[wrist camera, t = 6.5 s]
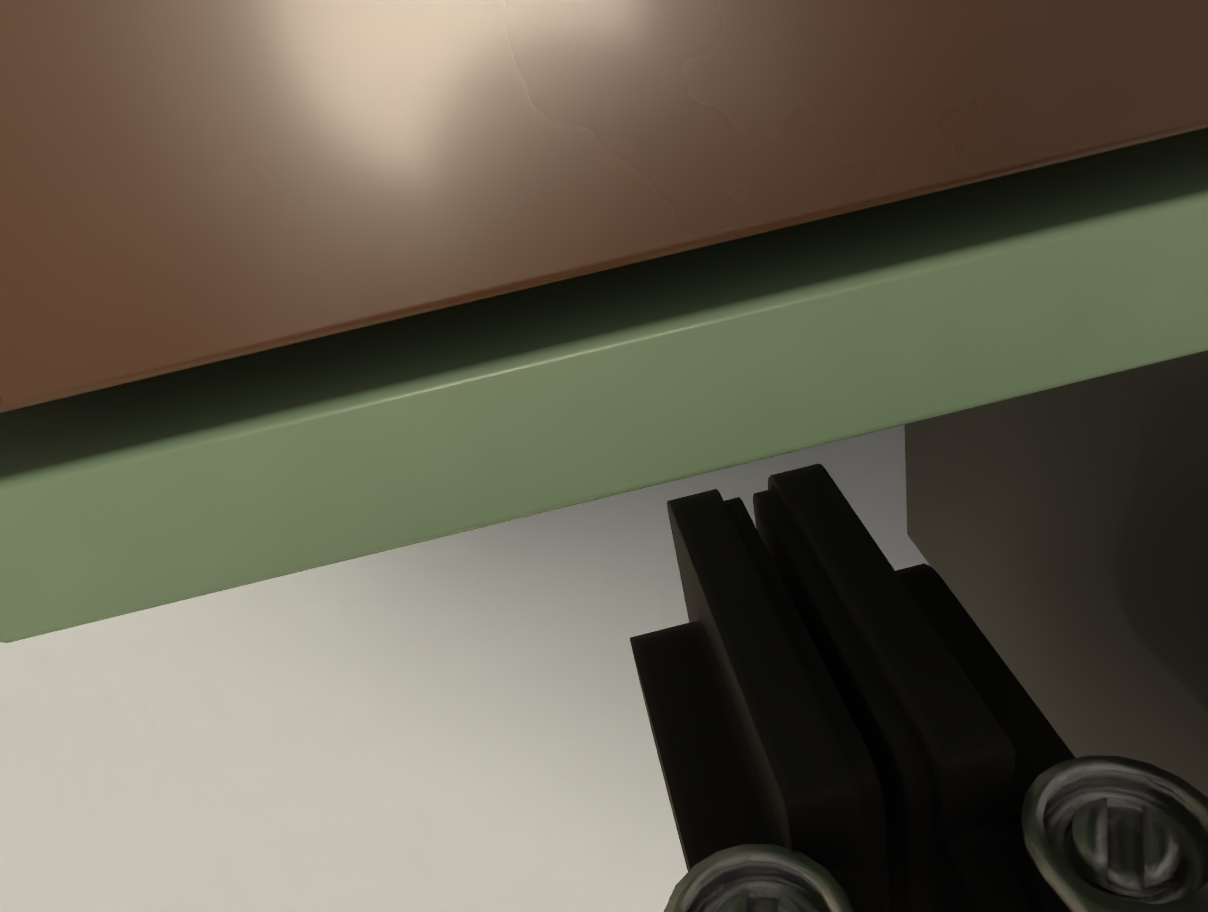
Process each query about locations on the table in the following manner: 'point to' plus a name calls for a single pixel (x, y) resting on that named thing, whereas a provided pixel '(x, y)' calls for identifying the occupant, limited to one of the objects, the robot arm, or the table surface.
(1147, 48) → the cabinet
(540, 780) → the table surface
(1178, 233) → the door
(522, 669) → the table surface
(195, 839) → the table surface
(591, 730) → the table surface
